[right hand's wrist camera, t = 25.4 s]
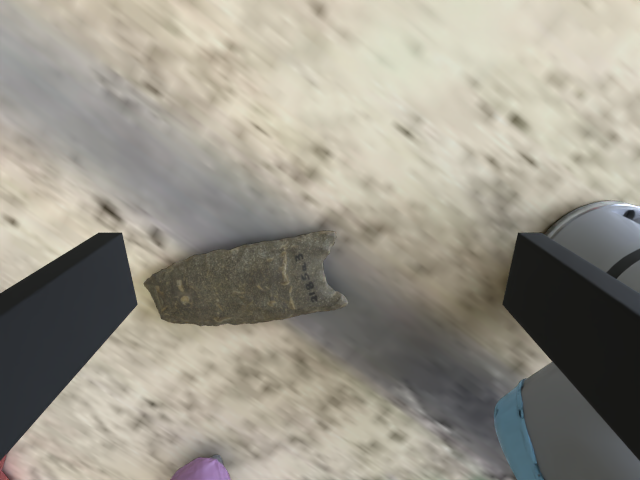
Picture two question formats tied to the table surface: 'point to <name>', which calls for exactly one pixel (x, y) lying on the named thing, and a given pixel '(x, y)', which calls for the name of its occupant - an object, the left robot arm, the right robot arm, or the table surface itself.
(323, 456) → the table surface
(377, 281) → the table surface
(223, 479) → the toy character
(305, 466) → the table surface
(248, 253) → the stone tool
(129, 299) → the right robot arm
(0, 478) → the plaque
